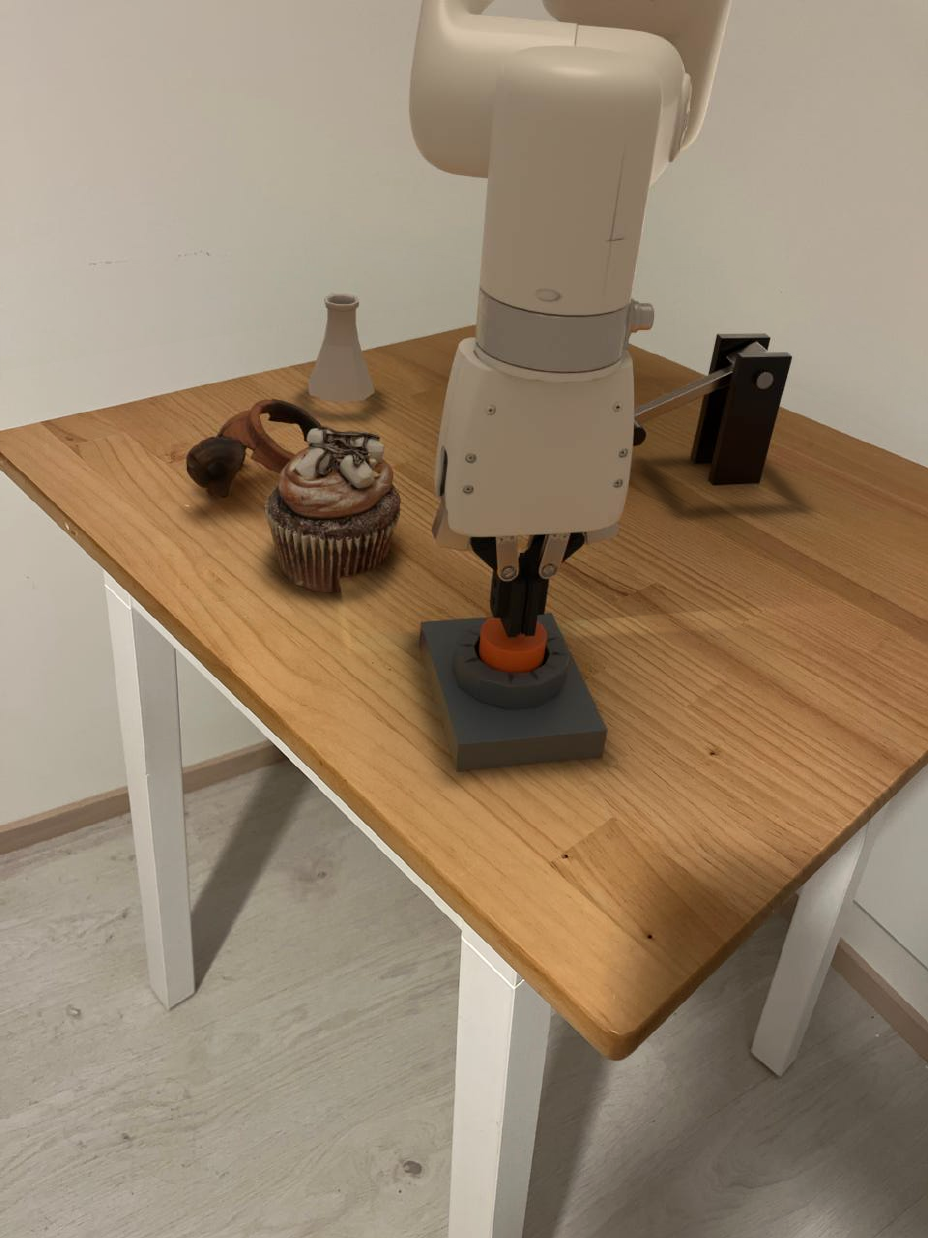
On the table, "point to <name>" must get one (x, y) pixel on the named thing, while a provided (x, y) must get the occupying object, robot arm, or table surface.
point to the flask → (341, 355)
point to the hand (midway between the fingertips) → (515, 623)
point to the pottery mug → (244, 445)
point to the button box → (509, 701)
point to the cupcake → (333, 509)
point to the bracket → (740, 411)
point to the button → (511, 648)
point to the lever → (687, 393)
